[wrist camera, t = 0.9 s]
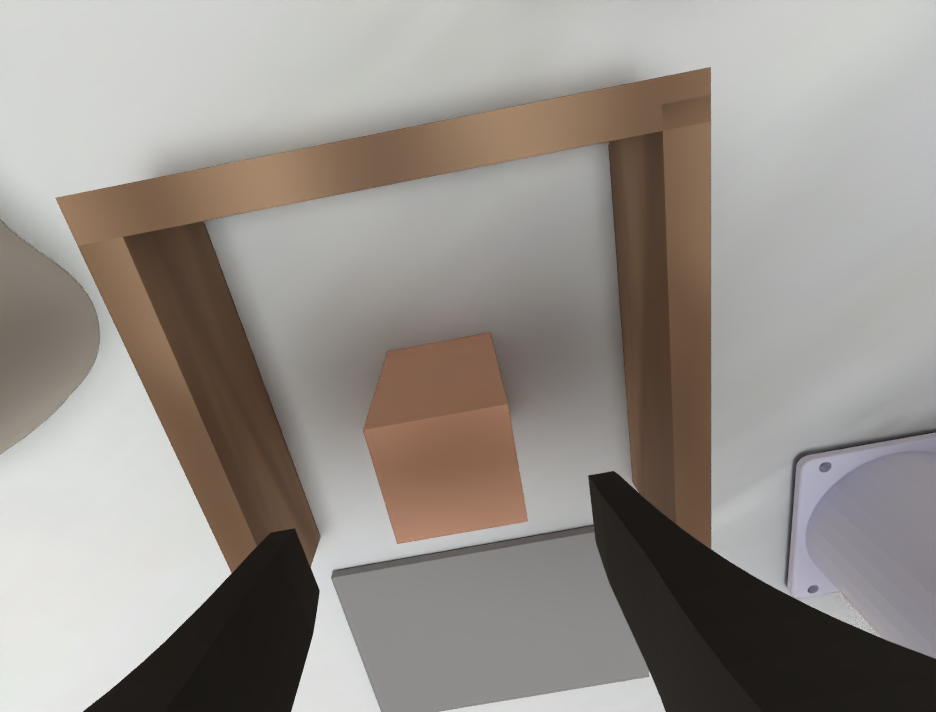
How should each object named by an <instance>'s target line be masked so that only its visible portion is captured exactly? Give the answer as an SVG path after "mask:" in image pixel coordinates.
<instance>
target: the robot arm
mask: <svg viewBox="0 0 936 712" xmlns="http://www.w3.org/2000/svg"><path fill="white" fill-rule="evenodd" d="M822 463H824V464H823V465H822V466H820V465H821V464H822ZM588 477H589V486H590V495H591V504H592V513H593V522H594V532H595V541H596V545H597V548H598V551H599V554H600V557H601V560H602V563H603V566H604V569H605V572H606V575H607V578H608V581H609V584H610V586H611V588H612V590H613V593H614V595H615V597H616V599H617V601H618V604H619V606H620V608H621V610H622V612H623V615H624V617H625V619H626V621H627V623H628V625H629V628H630V630H631V632H632V634H633V636H634V638H635V641H636V643H637V645H638V647H639V649H640V651H641V654H642V656H643V658H644V660H645V662H646V664H647V667H648V669H649V671H650V673H651V675H652V678H653V680H654V683H655V685H656V687H657V690H658V692H659V695H660V697H661V700H662V703H663V705H664V708H665V711H666V712H936V433H930V434H924V435H919V436H913V437H907V438H902V439H896V440H890V441H885V442H879V443H873V444H868V445H862V446H856V447H851V448H845V449H839V450H834V451H828V452H822V453H817V454H811V455H807V456H804V457H803V458H801V459H800V460H799V461H798V463H797V466H796V478H795V491H794V505H793V518H792V532H791V545H790V558H789V572H788V585H787V588H788V591H789V592H790V593H791V594H792V595H793V596H794V597H796V598H805V597H811V596H817V595H823V594H829V593H835V592H840V593H841V594H842V595H843V596H844V597H845V598H846V599H847V600H848V601H849V603H850V604H851V605H852V606H853V607H854V608H855V609H856V610H857V611H858V612H859V614H860V615H861V616H862V617H863V618H864V619H865V620H866V621H867V622H868V623H869V625H870V626H871V627H872V628H873V629H874V630H875V631H876V632H877V633H878V634H879V636H880V637H881V638H880V637H877V636H875V635H872V634H870V633H868V632H866V631H863V630H861V629H859V628H856V627H854V626H852V625H850V624H847V623H845V622H843V621H840V620H838V619H836V618H834V617H832V616H829V615H827V614H825V613H823V612H821V611H819V610H817V609H815V608H812V607H810V606H808V605H806V604H804V603H803V602H801V601H799V600H797V599H795V598H793V597H791V596H789V595H787V594H785V593H783V592H781V591H779V590H777V589H775V588H773V587H772V586H770V585H768V584H766V583H764V582H763V581H761V580H759V579H757V578H756V577H754V576H752V575H750V574H749V573H747V572H746V571H744V570H742V569H741V568H739V567H737V566H736V565H734V564H732V563H731V562H729V561H728V560H726V559H724V558H723V557H721V556H720V555H718V554H717V553H716V552H714V551H713V550H711V549H710V548H708V547H707V546H705V545H704V544H703V543H701V542H700V541H698V540H697V539H696V538H694V537H693V536H691V535H690V534H689V533H687V532H686V531H685V530H683V529H682V528H681V527H680V526H678V525H677V524H676V523H674V522H673V521H672V520H671V519H669V518H668V517H667V516H666V515H664V514H663V513H662V512H661V511H659V510H658V509H657V508H656V507H655V506H653V505H652V504H651V503H650V502H649V501H648V500H646V499H645V498H644V497H643V496H642V495H641V494H639V493H638V492H637V491H636V490H635V489H634V488H633V487H632V486H631V485H629V484H628V483H627V482H626V481H625V480H624V479H623V478H622V477H621V476H620V475H619V474H617V473H616V472H614V471H611V472H606V473H600V474H595V475H589V476H588ZM318 599H319V588H318V585H317V583H316V580H315V578H314V575H313V573H312V570H311V568H310V565H309V563H308V560H307V557H306V555H305V552H304V550H303V547H302V545H301V542H300V540H299V537H298V535H297V532H296V529H295V528H293V529H288V530H282V531H277V532H271V533H270V534H269V535H268V536H267V537H266V538H265V539H264V540H263V541H262V542H261V543H260V544H259V545H258V546H257V547H256V548H255V549H254V550H253V551H252V552H251V553H250V554H249V555H248V556H247V558H246V559H245V560H244V561H243V562H242V563H241V564H240V565H239V566H238V567H237V568H236V569H235V571H234V572H233V573H232V574H231V575H230V576H229V577H228V578H227V579H226V580H225V581H224V582H223V583H222V584H221V585H220V587H219V588H218V589H217V590H216V591H215V592H214V593H213V594H212V595H211V596H210V597H209V598H208V599H207V600H206V601H205V602H204V603H203V604H202V605H201V606H200V607H199V608H198V609H197V610H196V611H195V612H194V613H193V614H192V615H191V616H190V617H189V618H188V619H187V620H186V621H185V622H184V623H183V624H182V625H181V626H180V627H179V628H178V629H177V630H176V631H175V632H174V633H173V634H172V635H171V636H170V637H169V638H168V639H167V640H166V641H165V642H164V643H163V644H162V645H161V646H160V647H159V648H158V649H157V650H156V651H154V652H153V653H152V654H151V655H150V656H149V657H148V658H147V659H146V660H145V661H143V662H142V663H141V664H140V665H139V666H138V667H137V668H135V669H134V670H133V671H132V672H131V673H130V674H128V675H127V676H126V677H125V678H124V679H123V680H122V681H120V682H119V683H118V684H117V685H116V686H115V687H113V688H112V689H111V690H110V691H109V692H107V693H106V694H105V695H103V696H102V697H101V698H100V699H98V700H97V701H96V702H95V703H93V704H92V705H91V706H89V707H88V708H87V709H86V710H84V711H83V712H291V710H292V706H293V703H294V699H295V696H296V693H297V689H298V686H299V682H300V679H301V675H302V672H303V668H304V665H305V661H306V657H307V654H308V650H309V647H310V643H311V639H312V636H313V631H314V625H315V619H316V613H317V606H318Z"/></svg>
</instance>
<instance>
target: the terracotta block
mask: <svg viewBox="0 0 936 712" xmlns="http://www.w3.org/2000/svg"><path fill="white" fill-rule="evenodd" d="M363 432H364V435H365V438H366V442H367V445H368V448H369V452H370V455H371V458H372V462H373V465H374V468H375V472H376V475H377V478H378V482H379V485H380V488H381V492H382V495H383V498H384V502H385V505H386V508H387V512H388V515H389V518H390V522H391V525H392V528H393V532H394V535H395V538H396V542H397V544H400V543H406V542H411V541H417V540H423V539H429V538H434V537H440V536H446V535H452V534H458V533H463V532H469V531H475V530H481V529H486V528H492V527H498V526H504V525H509V524H515V523H521V522H527V521H528V519H527V513H526V507H525V501H524V496H523V490H522V484H521V478H520V472H519V466H518V461H517V455H516V449H515V443H514V437H513V431H512V426H511V420H510V414H509V408H508V403H507V399H506V395H505V391H504V387H503V383H502V379H501V375H500V371H499V367H498V363H497V358H496V354H495V350H494V346H493V342H492V338H491V334H490V333H484V334H479V335H474V336H468V337H463V338H458V339H452V340H447V341H442V342H436V343H431V344H426V345H420V346H415V347H409V348H404V349H399V350H393V351H388V352H387V355H386V358H385V361H384V364H383V368H382V371H381V374H380V377H379V381H378V384H377V387H376V390H375V393H374V397H373V400H372V403H371V406H370V410H369V413H368V416H367V419H366V422H365V426H364V429H363Z"/></svg>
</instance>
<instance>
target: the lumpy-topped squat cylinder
mask: <svg viewBox="0 0 936 712" xmlns="http://www.w3.org/2000/svg"><path fill="white" fill-rule="evenodd" d="M99 342H100V330H99V322H98V317H97V313H96V310H95V308H94V305H93V303H92V301H91V299H90V297H89V296H88V294H87V293H86V291H85V290H84V289H83V287H82V286H81V285H80V284H79V283H78V282H77V281H76V280H75V279H74V278H73V277H72V276H71V275H70V274H69V273H68V272H67V271H65V270H64V269H63V268H62V267H60V266H59V265H58V264H56V263H55V262H54V261H52V260H51V259H49V258H48V257H47V256H45V255H44V254H42V253H41V252H39V251H38V250H37V249H35V248H34V247H32V246H31V245H30V244H28V243H27V242H25V241H24V240H23V239H22V238H20V237H19V236H18V235H17V234H15V233H14V232H13V231H12V230H11V229H10V228H9V227H8V226H7V225H6V224H5V223H4V222H3V221H2V220H1V219H0V454H1V453H3V452H4V451H6V450H7V449H9V448H10V447H12V446H13V445H15V444H16V443H18V442H19V441H20V440H22V439H23V438H24V437H26V436H27V435H28V434H30V433H31V432H32V431H33V430H35V429H36V428H37V427H38V426H40V425H41V424H42V423H43V422H44V421H45V420H47V419H48V418H49V417H50V416H51V415H52V414H53V413H54V412H55V411H56V410H57V409H58V408H59V407H60V406H61V405H62V404H63V403H64V402H65V400H66V399H67V398H68V397H69V395H70V394H71V393H72V392H73V391H74V390H75V389H76V388H77V387H78V386H79V385H80V384H81V382H82V381H83V380H84V379H85V377H86V376H87V375H88V373H89V371H90V370H91V368H92V366H93V364H94V362H95V359H96V357H97V353H98V349H99Z"/></svg>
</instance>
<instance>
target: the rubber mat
mask: <svg viewBox="0 0 936 712" xmlns="http://www.w3.org/2000/svg"><path fill="white" fill-rule="evenodd" d="M331 579H332V582H333V584H334V587H335V590H336V592H337V595H338V598H339V600H340V603H341V606H342V608H343V611H344V614H345V616H346V619H347V622H348V624H349V627H350V630H351V632H352V635H353V638H354V640H355V643H356V646H357V648H358V651H359V654H360V656H361V659H362V662H363V664H364V667H365V670H366V672H367V675H368V678H369V680H370V683H371V686H372V688H373V691H374V694H375V696H376V699H377V702H378V704H379V707H380V710H381V712H439V711H445V710H451V709H457V708H463V707H469V706H475V705H481V704H487V703H493V702H499V701H505V700H511V699H517V698H523V697H530V696H536V695H542V694H548V693H554V692H560V691H566V690H572V689H578V688H584V687H590V686H596V685H602V684H608V683H614V682H620V681H626V680H632V679H638V678H644V677H649V669H648V667H647V664H646V662H645V660H644V658H643V656H642V654H641V651H640V649H639V647H638V645H637V643H636V641H635V638H634V636H633V634H632V632H631V630H630V628H629V625H628V623H627V621H626V619H625V617H624V615H623V612H622V610H621V608H620V606H619V604H618V601H617V599H616V597H615V595H614V593H613V590H612V588H611V586H610V584H609V581H608V578H607V575H606V572H605V569H604V566H603V563H602V560H601V557H600V554H599V551H598V548H597V545H596V541H595V532H594V526H589V527H583V528H578V529H572V530H566V531H560V532H555V533H549V534H543V535H538V536H532V537H526V538H520V539H515V540H509V541H503V542H497V543H492V544H486V545H480V546H475V547H469V548H463V549H457V550H452V551H446V552H440V553H434V554H429V555H423V556H417V557H412V558H406V559H400V560H394V561H389V562H383V563H377V564H371V565H366V566H360V567H354V568H349V569H343V570H337V571H333V573H332V577H331Z"/></svg>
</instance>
